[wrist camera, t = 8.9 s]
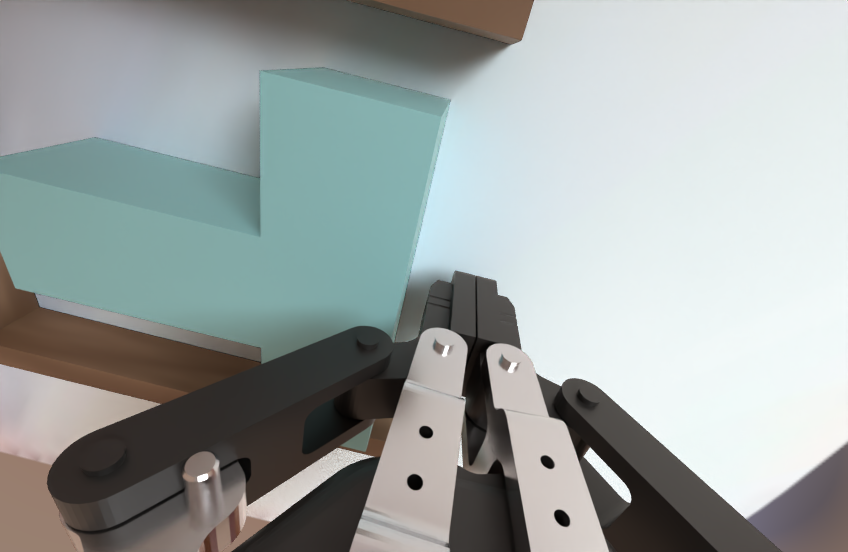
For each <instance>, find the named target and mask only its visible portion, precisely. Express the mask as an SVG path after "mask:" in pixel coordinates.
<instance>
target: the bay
mask: <svg viewBox="0 0 848 552" xmlns="http://www.w3.org/2000/svg"><path fill="white" fill-rule="evenodd" d="M348 1H352V2H355V3H359V4H363V5H367V6H370V7H374V8H378V9H381V10H385V11H389V12H393V13H396V14H400V15H404V16H408V17H411V18H415V19H419V20H422V21H426V22H430V23H434V24H437V25H441V26H445V27H448V28H452V29H456V30H460V31H463V32H467V33H471V34H475V35H478V36H482V37H486V38H489V39H493V40H497V41H501V42H504V43H508V44H514V43H517V42H519V41H521V40H522V38H523V34H524V31H525V28H526V25H527V21H528V18H529V15H530V12H531V8H532V5H533V2H534V0H348ZM0 364H2V365H6V366H10V367H14V368H19V369H23V370H27V371H31V372H35V373H39V374H43V375H47V376H51V377H55V378H59V379H63V380H67V381H71V382H75V383H79V384H83V385H87V386H91V387H95V388H99V389H103V390H107V391H111V392H115V393H119V394H123V395H127V396H132V397H136V398H140V399H144V400H148V401H152V402H156V403H160V404H164V403H166V402H169V401H171V400H174V399H176V398H178V397H181V396H183V395H186V394H188V393H191V392H193V391H196V390H198V389H201V388H203V387H206V386H208V385H211V384H213V383H216V382H218V381H221V380H223V379H226V378H228V377H231V376H233V375H236V374H238V373H241V372H243V371H246V370H248V369H251V368H253V367H256V366H258V365H261V363H260V362H256V361H252V360H248V359H244V358H240V357H236V356H232V355H228V354H224V353H220V352H216V351H212V350H208V349H204V348H200V347H196V346H192V345H188V344H184V343H180V342H176V341H172V340H168V339H164V338H160V337H156V336H152V335H148V334H144V333H140V332H136V331H132V330H128V329H124V328H120V327H116V326H112V325H108V324H104V323H100V322H96V321H92V320H88V319H84V318H80V317H76V316H73V315H69V314H65V313H61V312H57V311H53V310H49V309H45V308H41V307H39V305H38V302H37V299H36V297H35V294H34V293H33V292H29V291H25V290H21V289H17V288H15V286H14V284H13V281H12V279H11V276H10V274H9V272H8V269H7V267H6V264H5V262H4V259H3V257H2V254H1V252H0ZM392 421H393V418H383V419H376V420H375V421H374V423H373V427H372V430H371V434H370V438H369V441H368V445H367V449H366V452H364V451H360V450H356V449H351V448H347V447H343V446H339V447H338V448H341V449H345V450H349V451H353V452H357V453H362V454H366V455H370V456H374V457H379V456H381V455H382V452H383V449H384V445H385V442H386V439H387V436H388V433H389V430H390V427H391V424H392Z"/></svg>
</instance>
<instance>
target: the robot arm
mask: <svg viewBox="0 0 848 552" xmlns="http://www.w3.org/2000/svg"><path fill="white" fill-rule="evenodd" d="M461 396H464V397H466V402H465V400H464V399H463V398H461ZM383 418H393V421H392V424H391V427H390V430H389V433H388V436H387V439H386V442H385V445H384V449H383V452H382V455H381V456H379V457H372V458H368V459H364V460H360V461H358V462H355V463H353V464H350V465H348V466H347V467H345V468H343V469H341V470H340V471H338V472H337V473H335V474H334V475H333V476H331V477H330V478H329V479H327V480H326V481H325V482H323V483H322V484H321V485H319V486H318V487H317V488H315V489H314V490H313V491H311V492H310V493H309V494H307V495H306V496H305V497H303V498H302V499H301V500H299V501H298V502H297V503H295V504H294V505H293V506H291V507H290V508H289V509H287V510H286V511H285V512H283V513H282V514H281V515H279V516H278V517H277V518H275V519H274V520H273V521H272V522H270V523H269V524H268V525H266V526H265V527H264V528H262V529H261V530H260V531H258V532H257V533H256V534H254V535H253V536H252V537H250V538H249V539H248V540H246V541H245V542H244V543H242V544H241V545H240V546H238V547H237V548H236V549H234V550H233V551H232V552H782V551H781V550H780V549H779V548H777V547H776V546H775V545H774V544H773V543H772V542H771V541H769V540H768V539H767V538H766V537H765V536H764V535H763V534H762V533H761V532H759V530H757V529H756V528H755V527H754V526H753V525H752V524H751V523H749V522H748V521H747V520H746V519H745V518H744V517H743V516H742V515H741V514H739V513H738V512H737V511H736V510H735V509H734V508H733V507H732V506H731V505H729V504H728V503H727V502H726V501H725V500H724V499H723V498H722V497H720V496H719V495H718V494H717V493H716V492H715V491H714V490H713V489H712V488H710V487H709V486H708V485H707V484H706V483H705V482H704V481H703V480H701V479H700V478H699V477H698V476H697V475H696V474H695V473H694V472H693V471H691V470H690V469H689V468H688V467H687V466H686V465H685V464H684V463H682V462H681V461H680V460H679V459H678V458H677V457H676V456H675V455H674V454H672V453H671V452H670V451H669V450H668V449H667V448H666V447H665V446H663V445H662V444H661V443H660V442H659V441H658V440H657V439H656V438H654V437H653V436H652V435H651V434H650V433H649V432H648V431H647V430H646V429H644V428H643V427H642V426H641V425H640V424H639V423H638V422H637V421H635V420H634V419H633V418H632V417H631V416H630V415H629V414H628V413H627V412H625V411H624V410H623V409H622V408H621V407H620V406H619V405H618V404H616V403H615V402H614V401H613V400H612V399H611V398H610V397H609V396H608V395H606V394H605V393H604V392H603V391H602V390H601V389H599V388H598V387H597V386H595V385H593V384H592V383H590V382H587V381H585V380H582V379H576V378H572V379H568V380H566V381H565V382H564V383H563V384H562V386H559V385H557V384H555V383H553V382H551V381H549V380H547V379H545V378H543V377H541V376H539V375H538V374H536V372H535V368H534V365H533V363H532V361H531V359H530V358H529V357H528V355H527V354H525V353H524V352H523V351H522V350H521V344H520V338H519V332H518V326H517V320H516V314H515V308H514V306H513V305H512V303H511V302H510V301H509V299H508V298H507V297H504V296H500V295H498V293H497V283H496V281H495V280H492V279H488V278H484V277H480V276H475V275H471V274H467V273H463V272H459V271H455V272H454V274H453V278H452V281H451V283H448V282H444V281H440V280H438V281H436V282H435V283H434V284H433V285H432V286H431V288H430V292H429V295H428V299H427V302H426V306H425V310H424V313H423V317H422V321H421V326H420V331H419V336H418V337H417V338H416V339H414V340H412V341H409V342H401V343H393V342H392V339H391V338H390V336H389V335H388V334H387V333H385V332H384V331H382V330H381V329H378V328H376V327H372V326H356V327H353V328H350V329H348V330H345V331H343V332H340V333H338V334H335V335H333V336H330V337H328V338H325V339H323V340H320V341H318V342H315V343H313V344H310V345H308V346H305V347H303V348H300V349H298V350H295V351H293V352H290V353H288V354H286V355H283V356H281V357H278V358H276V359H273V360H271V361H268V362H266V363H263V364H261V365H258V366H256V367H253V368H251V369H248V370H246V371H243V372H241V373H238V374H236V375H233V376H231V377H228V378H226V379H223V380H221V381H218V382H216V383H213V384H211V385H208V386H206V387H203V388H201V389H198V390H196V391H193V392H191V393H188V394H186V395H183V396H181V397H178V398H176V399H174V400H171V401H169V402H166V403H164V404H161V405H159V406H156V407H154V408H151V409H149V410H146V411H144V412H141V413H139V414H136V415H134V416H131V417H129V418H126V419H124V420H121V421H119V422H116V423H114V424H111V425H109V426H106V427H104V428H101V429H99V430H96V431H94V432H92V433H90V434H87V435H86V436H84V437H82V438H80V439H79V440H77V441H76V442H74V443H73V444H71V445H70V446H69V447H68V448H67V449H65V450H64V451H63V452H62V453H61V454H60V455H59V457H58V458H57V459H56V461H55V462H54V463H53V465H52V467H51V469H50V471H49V474H48V480H47V485H48V489H49V491H50V493H51V495H52V497H53V499H54V501H55V503H56V505H57V507H58V509H59V517H60V521H61V523H62V524H63V526H64V528H65V530H66V532H67V534H68V536H69V538H70V540H71V542H72V544H73V546H74V547H75V549H76V551H77V552H222V551H224V550H225V549H226V548H227V547H228V546H229V545H230V544H231V543H232V542H233V541H234V540H235V539H236V538H237V536H238V535H239V533H240V532H241V530H242V528H243V526H244V523H245V520H246V515H247V506H248V505H250V504H251V503H253V502H254V501H256V500H257V499H259V498H260V497H262V496H263V495H265V494H267V493H268V492H270V491H271V490H273V489H274V488H276V487H277V486H279V485H280V484H282V483H284V482H285V481H287V480H288V479H290V478H291V477H293V476H294V475H296V474H297V473H299V472H300V471H302V470H304V469H305V468H307V467H308V466H310V465H311V464H313V463H314V462H316V461H317V460H319V459H321V458H322V457H324V456H325V455H327V454H328V453H330V452H331V451H333V450H334V449H336V448H338V447H339V446H341V445H342V444H344V443H345V442H347V441H348V440H350V439H351V438H353V437H355V436H356V435H358V434H359V433H361V432H362V431H364V430H365V429H367V428H368V427H370V426H371V425H372V424H373V423H374V421H375V420H376V419H383ZM461 438H462V457H463V468H462V467H460V466H458V457H459V448H460V440H461ZM590 447H591V448H592V450H593V451H594V452H595V453H596V454H597V455H598V456H599V457H600V458H601V459H602V460H603V461H604V462H605V463H606V464H607V465H608V466H609V467H610V468H611V469H612V470H613V471H614V472H615V473H616V475H617V476H618V477H619V478H620V479H621V480H622V481H623V482H624V483H625V484H626V486H627V487H628V489H629V491H630V493H631V503H628V502H626V501H625V500H623V499H622V498H621V497H620V496H619V495H618V494H617V492H616V491H615V490H614V489H613V488H612V487H611V486H610V485H609V484H608V483H607V482H606V481H605V479H604V478H603V477H602V476H601V475H600V474H599V473H598V472H597V471H596V470H595V469H594V468H593V467H592V465H591V464H590V463H589V462H588V461H587V460H586V459H585V458H584V457H583V456H584V455H585V454H586V452H587V451H588V449H589V448H590Z"/></svg>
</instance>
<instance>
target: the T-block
mask: <svg viewBox="0 0 848 552" xmlns="http://www.w3.org/2000/svg"><path fill="white" fill-rule="evenodd" d="M449 105H450V100H449V99H445V98H441V97H437V96H433V95H429V94H426V93H422V92H418V91H414V90H410V89H406V88H402V87H398V86H394V85H390V84H386V83H382V82H378V81H374V80H370V79H367V78H363V77H359V76H355V75H351V74H347V73H343V72H339V71H335V70H331V69H327V68H303V69H283V70H263V71H260V178H257V177H252V176H248V175H244V174H240V173H236V172H232V171H228V170H224V169H220V168H216V167H212V166H208V165H204V164H200V163H196V162H192V161H188V160H184V159H180V158H176V157H172V156H168V155H164V154H160V153H156V152H152V151H148V150H144V149H140V148H136V147H132V146H128V145H124V144H120V143H116V142H112V141H108V140H104V139H100V138H96V137H94V138H89V139H84V140H79V141H74V142H70V143H65V144H60V145H55V146H50V147H45V148H40V149H35V150H31V151H26V152H21V153H16V154H11V155H6V156H1V157H0V252H1V254H2V257H3V259H4V262H5V264H6V267H7V269H8V272H9V274H10V276H11V279H12V281H13V284H14V286H15V288H17V289H21V290H25V291H29V292H33V293H37V294H41V295H46V296H50V297H54V298H58V299H62V300H66V301H70V302H74V303H78V304H83V305H87V306H91V307H95V308H99V309H103V310H107V311H111V312H115V313H120V314H124V315H128V316H132V317H136V318H140V319H144V320H148V321H152V322H157V323H161V324H165V325H169V326H173V327H177V328H181V329H185V330H189V331H194V332H198V333H202V334H206V335H210V336H214V337H218V338H222V339H227V340H231V341H235V342H239V343H243V344H247V345H251V346H255V347H259V348H261V364H263V363H266V362H268V361H271V360H273V359H276V358H278V357H281V356H283V355H286V354H288V353H290V352H293V351H295V350H298V349H300V348H303V347H305V346H308V345H310V344H313V343H315V342H318V341H320V340H323V339H325V338H328V337H330V336H333V335H335V334H338V333H340V332H343V331H345V330H348V329H350V328H353V327H356V326H372V327H376V328H378V329H381V330H382V331H384V332H385V333H387V334H388V335H389V336H390V338H391V339H392V342H393V343H394V341H395V336H396V332H397V328H398V324H399V319H400V315H401V311H402V306H403V302H404V298H405V293H406V289H407V285H408V281H409V276H410V272H411V268H412V263H413V259H414V255H415V251H416V246H417V242H418V238H419V233H420V229H421V225H422V220H423V216H424V212H425V208H426V203H427V199H428V195H429V190H430V186H431V182H432V178H433V173H434V169H435V165H436V160H437V156H438V152H439V147H440V143H441V139H442V135H443V130H444V126H445V122H446V117H447V113H448V109H449ZM372 427H373V424H372V425H371V426H370V427H368V428H367V429H365V430H364V431H362V432H361V433H359V434H358V435H356V436H355V437H353V438H351V439H350V440H348V441H347V442H345V443H344V444H342V445H341V446H343V447H347V448H351V449H356V450H360V451H364V452H366V449H367V445H368V441H369V438H370V434H371V430H372Z"/></svg>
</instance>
